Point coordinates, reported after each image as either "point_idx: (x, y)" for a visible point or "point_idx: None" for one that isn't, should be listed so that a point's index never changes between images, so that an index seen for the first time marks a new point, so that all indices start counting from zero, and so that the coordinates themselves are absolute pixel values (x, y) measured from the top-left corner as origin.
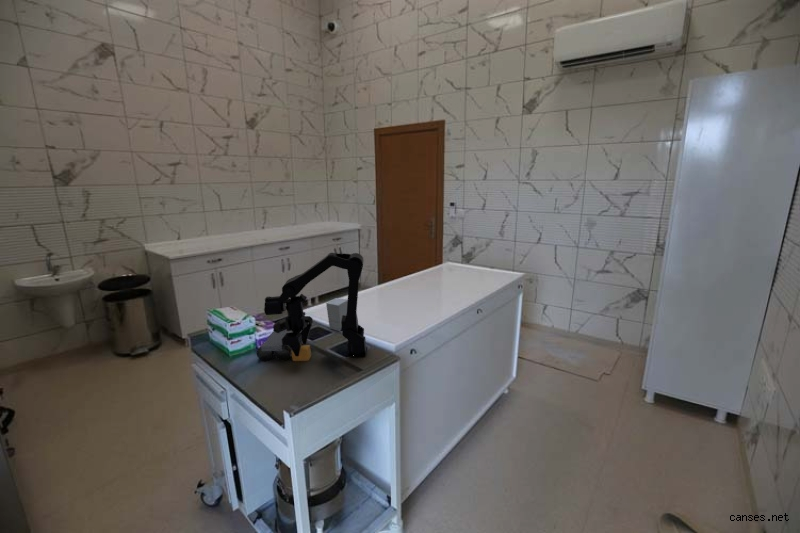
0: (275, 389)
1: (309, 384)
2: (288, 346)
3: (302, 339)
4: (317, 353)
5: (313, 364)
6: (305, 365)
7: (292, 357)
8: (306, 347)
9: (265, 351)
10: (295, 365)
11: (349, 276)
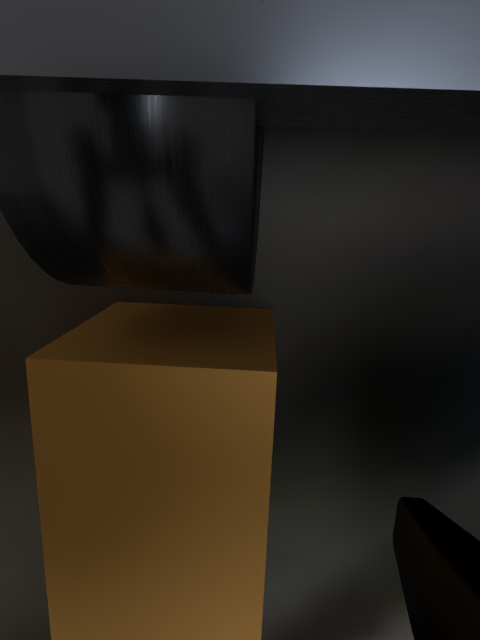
0: None
1: None
2: (149, 256)
3: (449, 585)
4: (296, 577)
5: (35, 572)
6: (9, 490)
7: (96, 315)
8: (165, 627)
9: None
10: (3, 367)
11: None
